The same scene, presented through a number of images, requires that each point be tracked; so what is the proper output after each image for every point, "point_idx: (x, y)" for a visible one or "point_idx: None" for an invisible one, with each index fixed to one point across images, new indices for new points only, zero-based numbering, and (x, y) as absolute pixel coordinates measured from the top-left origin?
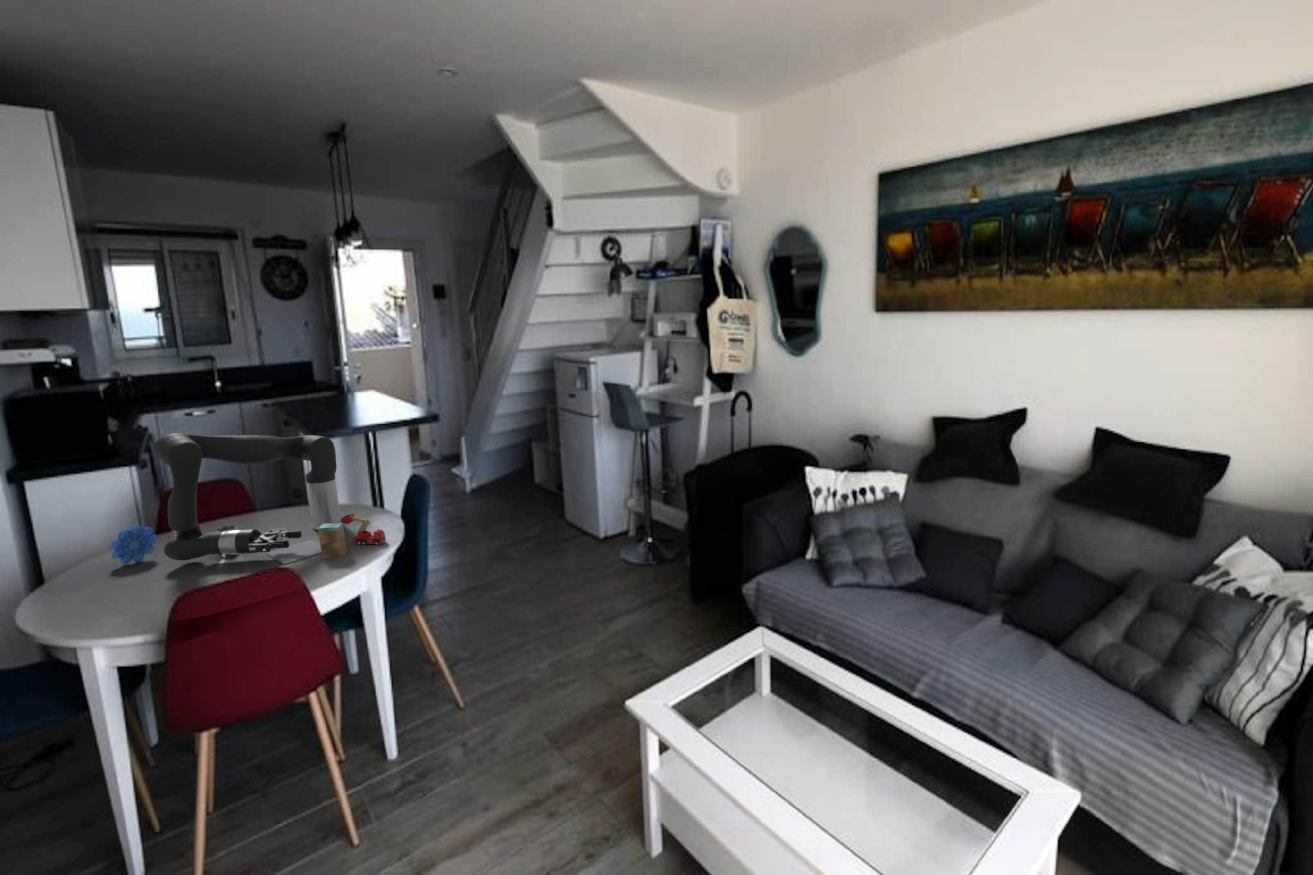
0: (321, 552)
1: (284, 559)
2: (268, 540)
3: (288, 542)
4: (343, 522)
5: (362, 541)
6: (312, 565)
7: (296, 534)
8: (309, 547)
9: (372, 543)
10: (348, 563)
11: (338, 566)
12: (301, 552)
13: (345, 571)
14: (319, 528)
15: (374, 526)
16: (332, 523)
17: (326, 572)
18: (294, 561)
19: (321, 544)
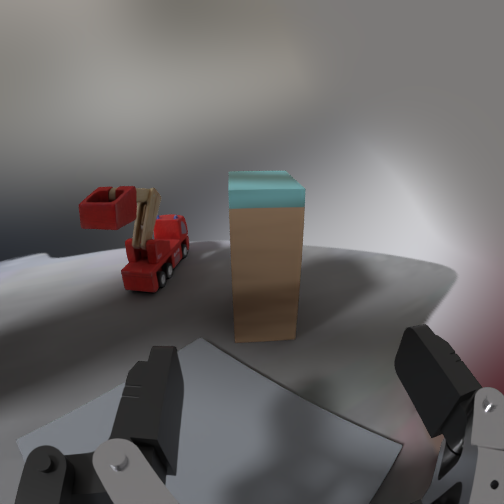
0: (296, 316)
1: (345, 485)
2: (495, 450)
3: (408, 334)
4: (124, 218)
5: (167, 267)
6: (372, 337)
7: (176, 389)
8: None
9: (181, 257)
10: (331, 268)
11: (357, 278)
12: (220, 447)
13: (380, 259)
14: (303, 189)
15: (12, 289)
16: (230, 179)
17: (403, 285)
18: (349, 427)
19: (299, 276)
